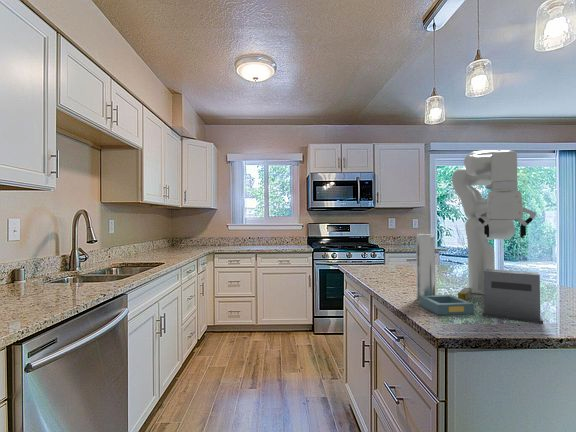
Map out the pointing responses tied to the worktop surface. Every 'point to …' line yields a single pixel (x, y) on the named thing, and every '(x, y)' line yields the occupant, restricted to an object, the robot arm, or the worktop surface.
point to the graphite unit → (512, 295)
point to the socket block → (446, 305)
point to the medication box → (465, 294)
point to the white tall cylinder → (425, 264)
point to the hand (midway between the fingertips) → (504, 237)
